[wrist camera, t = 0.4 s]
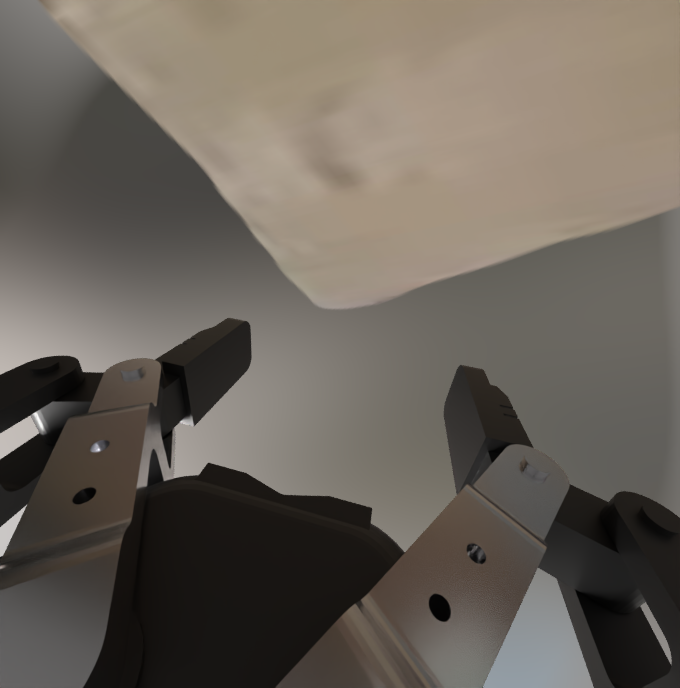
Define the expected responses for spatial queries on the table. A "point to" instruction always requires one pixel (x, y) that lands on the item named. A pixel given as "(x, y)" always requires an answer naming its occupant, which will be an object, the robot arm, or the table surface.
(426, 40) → the table surface
